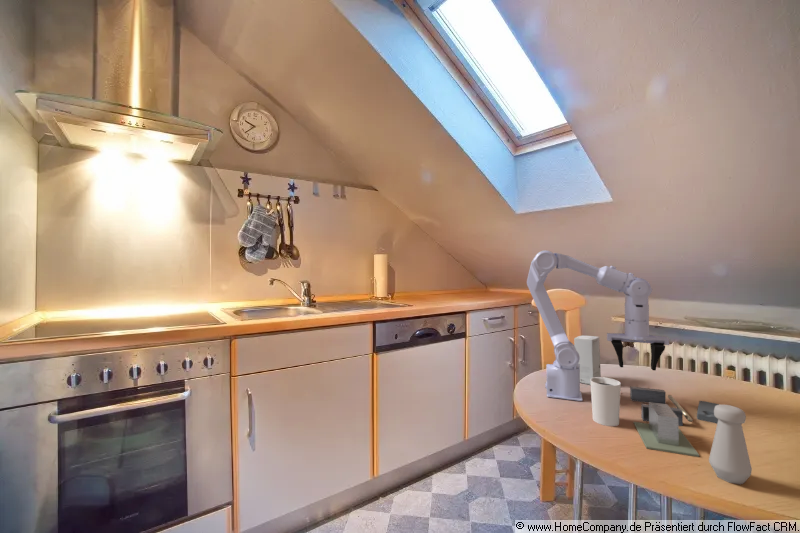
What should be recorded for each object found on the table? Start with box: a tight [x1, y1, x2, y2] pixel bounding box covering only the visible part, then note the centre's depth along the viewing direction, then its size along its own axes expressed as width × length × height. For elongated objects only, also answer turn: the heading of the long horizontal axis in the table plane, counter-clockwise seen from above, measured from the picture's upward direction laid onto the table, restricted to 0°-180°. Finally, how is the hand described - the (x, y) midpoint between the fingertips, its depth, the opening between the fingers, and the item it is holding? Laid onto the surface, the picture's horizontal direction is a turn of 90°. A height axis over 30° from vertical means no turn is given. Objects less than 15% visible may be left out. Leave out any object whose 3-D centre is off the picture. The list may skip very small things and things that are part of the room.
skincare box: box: [573, 334, 602, 386], centre depth 119 cm, size 8×6×15 cm
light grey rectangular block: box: [648, 402, 680, 446], centre depth 80 cm, size 4×8×6 cm, turn 157°
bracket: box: [696, 400, 720, 425], centre depth 92 cm, size 4×11×2 cm, turn 138°
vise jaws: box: [629, 386, 694, 427], centre depth 94 cm, size 10×16×4 cm, turn 157°
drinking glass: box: [590, 376, 622, 427], centre depth 89 cm, size 7×7×10 cm
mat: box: [633, 421, 700, 458], centre depth 80 cm, size 9×13×1 cm
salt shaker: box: [708, 404, 752, 485], centre depth 65 cm, size 6×6×13 cm
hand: (637, 367), depth 100 cm, fingers open, 7 cm apart
